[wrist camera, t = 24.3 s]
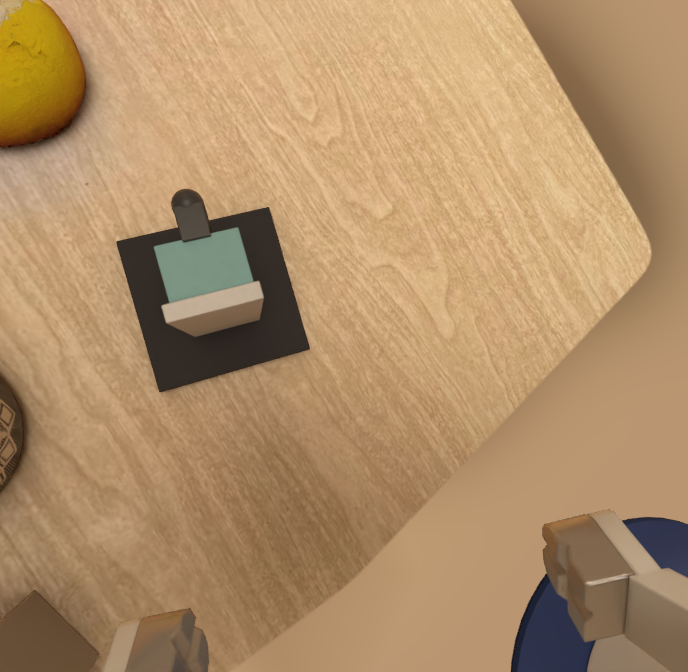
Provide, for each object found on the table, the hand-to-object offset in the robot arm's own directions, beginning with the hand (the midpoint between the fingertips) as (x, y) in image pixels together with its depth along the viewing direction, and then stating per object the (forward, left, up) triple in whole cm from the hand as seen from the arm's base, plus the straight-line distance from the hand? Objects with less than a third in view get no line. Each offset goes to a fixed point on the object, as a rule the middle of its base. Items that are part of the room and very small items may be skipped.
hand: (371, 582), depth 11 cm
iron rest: (+11, -2, -29) cm, 31 cm away
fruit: (+33, +1, -29) cm, 45 cm away
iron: (+12, -2, -28) cm, 31 cm away
